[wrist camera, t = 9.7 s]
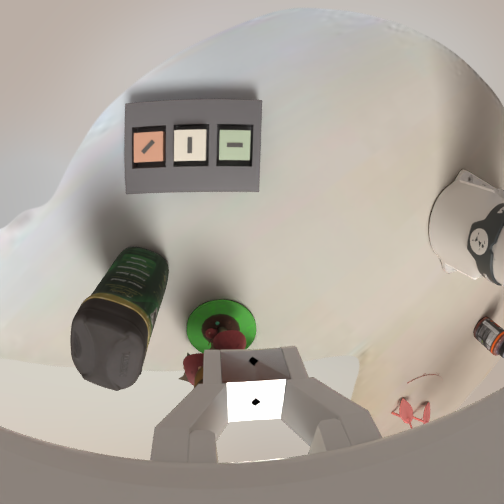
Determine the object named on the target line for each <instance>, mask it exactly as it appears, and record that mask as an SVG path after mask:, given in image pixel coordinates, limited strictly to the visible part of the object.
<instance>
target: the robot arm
mask: <svg viewBox="0 0 504 504" xmlns="http://www.w3.org/2000/svg"><path fill="white" fill-rule="evenodd" d="M468 178H469V179H468ZM429 238H430V243H431V246H432V249H433V251H434V252H435V254H436V255H437V256H438V257H439V258H440V260H441V263H442V267H443V270H444V271H445V272H447V273H452V272H454V271H459V272H461V273H463V274H465V275H467V276H468V277H470V278H472V279H477V278H480V277H482V276H483V277H485V278H486V279H487V280H488V281H490V282H492V283H495V284H497V285H503V286H504V190H502V189H499V188H497V189H496V188H495V187H493V186H491V185H490V184H488V183H487V182H485V181H484V180H482V179H480V178H479V177H477V176H475V175H474V174H472V173H470V172H469V171H466V170H461V171H460V172H459V174H458V175H457V177H456V179H455V181H454V182H453V183H452V184H450V185H449V186H448V187H447V188H445V189H444V190H443V192H442V193H441V194H440V196H439V197H438V199H437V201H436V202H435V205H434V207H433V210H432V213H431V217H430V223H429ZM220 357H221V359H220ZM274 418H281V420H282V421H283V422H284V423H285V424H286V425H287V426H288V427H289V428H291V429H292V430H293V431H294V432H295V433H296V434H297V435H298V436H299V437H300V438H301V439H302V440H303V441H305V442H306V443H307V444H308V445H309V446H310V450H309V453H308V455H303V456H296V457H289V458H281V459H272V460H261V461H249V462H231V463H218V456H217V447H216V441H217V440H218V438H219V437H220V435H221V434H222V432H223V431H224V429H225V428H226V426H227V424H228V422H230V421H244V420H254V419H255V420H258V419H274ZM0 504H504V387H503V388H501V389H500V390H498V391H496V392H494V393H492V394H490V395H488V396H486V397H485V398H483V399H481V400H479V401H477V402H475V403H472V404H470V405H468V406H466V407H464V408H462V409H460V410H457V411H455V412H453V413H450V414H448V415H446V416H443V417H441V418H438V419H436V420H433V421H431V422H428V423H426V424H423V425H420V426H417V427H415V428H412V429H409V430H406V431H403V432H400V433H397V434H393V435H390V436H387V437H384V438H382V436H381V434H380V432H379V430H378V428H377V426H376V424H375V423H374V421H373V419H372V417H371V415H370V413H369V411H368V410H366V409H365V408H363V407H361V406H359V405H358V404H356V403H354V402H353V401H351V400H349V399H348V398H346V397H344V396H342V395H341V394H339V393H338V392H336V391H335V390H333V389H331V388H330V387H328V386H327V385H325V384H323V383H322V382H320V381H318V380H317V379H315V378H314V377H310V378H309V377H308V374H307V372H306V369H305V367H304V364H303V362H302V359H301V357H300V354H299V351H298V349H297V347H296V346H287V347H280V348H267V349H236V350H204V364H203V384H198V385H197V386H196V387H195V388H194V389H193V390H192V391H191V392H190V393H189V394H188V395H187V396H186V397H185V398H184V399H183V400H182V401H181V402H180V403H179V404H178V405H177V406H176V407H175V408H174V409H173V410H172V411H171V412H170V413H169V414H168V415H167V416H166V417H165V418H164V419H163V420H162V421H161V422H160V423H159V424H158V425H157V426H156V427H155V430H154V437H153V444H152V451H151V459H150V460H140V459H131V458H124V457H117V456H110V455H104V454H98V453H93V452H88V451H83V450H78V449H74V448H69V447H65V446H61V445H57V444H53V443H50V442H46V441H42V440H39V439H36V438H33V437H30V436H26V435H23V434H20V433H17V432H14V431H12V430H9V429H6V428H4V427H1V426H0Z"/></svg>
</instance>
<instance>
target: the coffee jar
mask: <svg viewBox="0 0 504 504" xmlns="http://www.w3.org/2000/svg"><path fill="white" fill-rule="evenodd" d="M168 273H169V269H168V265H167V262H166V261H165V259H164V258H163V257H162V256H160V255H159V254H157V253H155V252H153V251H150V250H147V249H144V248H139V247H129V248H126V249H125V250H123V251H122V252H121V254H120V255H119V256H118V257H117V259H116V260H115V262H114V263H113V264H112V266H111V267H110V269H109V270H108V272H107V273H106V275H105V276H104V277H103V279H102V280H101V282H100V283H99V284H98V286H97V287H96V289H95V290H94V292H93V293H92V294H91V296H89V297H88V298H86V299H85V300H84V301H83V303H82V304H81V306H80V308H79V310H78V311H77V313H76V315H75V317H74V319H73V321H72V326H71V355H72V359H73V362H74V364H75V366H76V368H77V370H78V371H79V372H80V374H81V375H82V377H83V378H84V379H85V380H87V381H89V382H92V383H94V384H97V385H99V386H102V387H105V388H108V389H112V390H116V391H118V390H120V389H124V388H127V387H129V386H131V385H133V384H134V383H135V382H136V380H137V379H138V377H139V375H140V374H141V372H142V366H143V363H144V359H145V356H146V352H147V348H148V344H149V341H150V338H151V334H152V331H153V328H154V324H155V321H156V318H157V314H158V311H159V308H160V305H161V302H162V299H163V296H164V293H165V289H166V285H167V280H168Z"/></svg>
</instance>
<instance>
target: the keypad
mask: <svg viewBox="0 0 504 504" xmlns="http://www.w3.org/2000/svg"><path fill="white" fill-rule="evenodd" d="M261 120H262V100H244V99H184V100H163V101H149V102H138V103H128V104H125V185H126V194H138V193H165V192H259V178H260V150H261ZM196 129H206V130H207V146H206V161H174V130H196ZM220 130H249V131H251V135H250V160H219V133H220ZM159 131H164V132H166V160H165V161H154V162H136V163H134V133H143V132H159Z"/></svg>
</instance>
